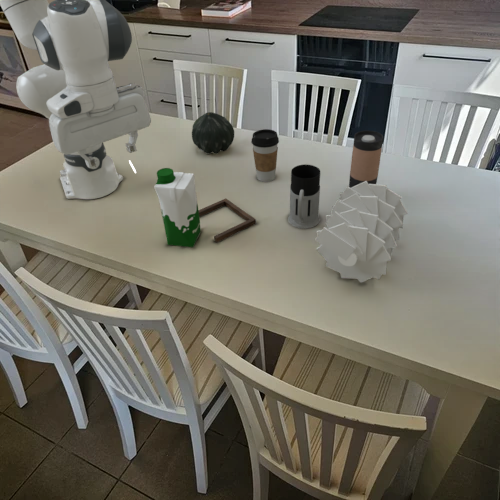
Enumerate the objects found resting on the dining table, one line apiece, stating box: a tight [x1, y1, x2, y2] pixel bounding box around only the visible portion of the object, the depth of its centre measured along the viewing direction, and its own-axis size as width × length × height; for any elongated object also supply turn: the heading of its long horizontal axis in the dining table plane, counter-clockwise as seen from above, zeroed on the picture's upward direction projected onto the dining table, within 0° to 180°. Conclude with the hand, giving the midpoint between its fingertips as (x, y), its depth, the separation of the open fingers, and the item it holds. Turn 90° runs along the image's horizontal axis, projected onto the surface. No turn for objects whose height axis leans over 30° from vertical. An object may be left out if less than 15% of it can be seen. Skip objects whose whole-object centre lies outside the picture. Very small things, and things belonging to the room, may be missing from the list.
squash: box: [191, 111, 235, 155], centre depth 157 cm, size 14×15×15 cm
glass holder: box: [287, 164, 321, 229], centre depth 118 cm, size 9×14×15 cm, turn 167°
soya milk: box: [153, 167, 202, 248], centre depth 114 cm, size 9×9×20 cm
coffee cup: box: [250, 128, 280, 183], centre depth 139 cm, size 8×8×15 cm
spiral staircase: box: [314, 181, 409, 284], centre depth 106 cm, size 18×18×25 cm
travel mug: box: [348, 130, 384, 188], centre depth 125 cm, size 8×8×20 cm
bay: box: [198, 198, 257, 243], centre depth 125 cm, size 14×13×2 cm
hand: (112, 158), depth 96 cm, fingers open, 8 cm apart
